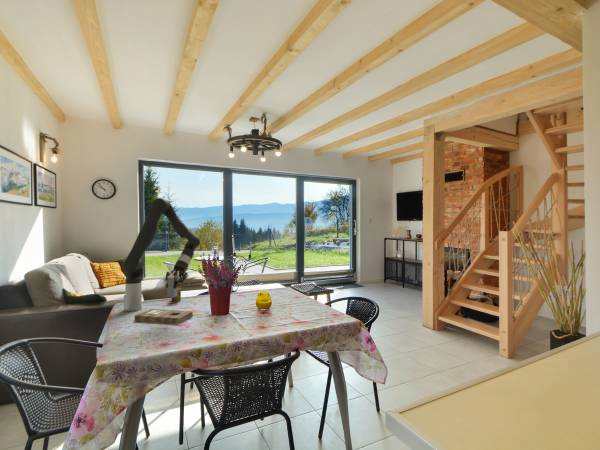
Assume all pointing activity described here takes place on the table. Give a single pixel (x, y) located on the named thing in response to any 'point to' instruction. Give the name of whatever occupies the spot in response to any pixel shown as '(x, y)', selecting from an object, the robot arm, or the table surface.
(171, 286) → the grey upright cylinder
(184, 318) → the rack foot plate
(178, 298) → the condiment
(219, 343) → the table surface
